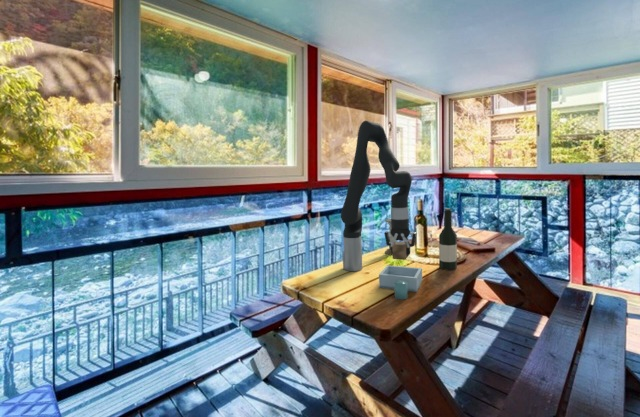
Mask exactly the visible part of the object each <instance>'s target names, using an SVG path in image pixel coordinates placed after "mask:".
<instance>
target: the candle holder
mask: <svg viewBox="0 0 640 417" xmlns="http://www.w3.org/2000/svg"><path fill="white" fill-rule="evenodd" d="M384 222H385V223H387V224H388V230H389V231H391V218H386V219H385V221H384ZM389 238H390V242H391V243H392V240H393V238H394V237H393V236H392V235H391V234H390V236H389ZM396 242H398V240H396ZM387 246H388V248H386V250H385V251H384V254H386V255H389V254H391V246H389V245H387ZM389 256H390V255H389Z"/></svg>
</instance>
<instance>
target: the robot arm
mask: <svg viewBox="0 0 640 417" xmlns="http://www.w3.org/2000/svg"><path fill="white" fill-rule="evenodd" d="M369 142H371V143H374V144H376V146H377V148H378V156H377V157H378V160H379V163H380V164H381V167H382V168H383V171H384V175H385V176H384V177H385V181H386V184H387V186H388V187H389V188H391V189H398V191H397V192H396V193H393V194H392V195H391V196H390V201H391V205H390V206H391V209H390V210H391V211H390V219H391V231H390V230H389V231H388V230H385V231H384V238H385V243H386V246H388V245H389V246H391V254H392V255H391V256H393V250H392V245H393V244H394V243H395V242H396V240H397V241H400V242H404V243H405V244H406V246H407V248H406V254H407V256H408V257H409V256H410V254H411V248H413V247H414V246H415V244H416V239H417V231H416V232H412V231H410V213H409V212H410V211H409V194H410V190H411V186H412V180H413V179H412V176H411V173H410V172H409V171H408V170H399V169H400V166H401V165H400V162H399V160H398V158H397V157H396V156H395V154H394V152H393V150H392V148H391V146H390V142H389V139H388V137H387V134H386V131H385V129H384V127H383V125H382V124H381V123H378V122H375V121H369V120H364V121H362V122H361V124H360V125H359V128H358V132H357V139H356V147H355V152H354V153H355V154H354V157H353V164H352V167H351V171H350V175H349V180H348V186H347V190H346V197H345V199H344V203H343V205H342V209H341V211H340V218H341V222H343V223H344V228H343V232H342V235H343V237H342V238H343V239H342V240H343V251H342V269H343V270H345V271H348V272H359V271H361V270H363V249H362V247H363V246H362V231H363V214H362V210H361V208H360V202H361V199H362V196H363V194H364V192H365V190H366V189H367V188H366V187H367V185H368V183H369V180H370V179H369V178H370V174H371V164H370V161H369V160H370V159H369V157H368V144H369ZM398 170H399V171H398ZM390 234H391V235H392V236H393V237H394V238H393V240H392V243H391V242H390V238H389V236H390ZM409 236H410V238H411V243H410V239H409V238H408V237H409ZM389 246H388V247H389Z"/></svg>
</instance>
